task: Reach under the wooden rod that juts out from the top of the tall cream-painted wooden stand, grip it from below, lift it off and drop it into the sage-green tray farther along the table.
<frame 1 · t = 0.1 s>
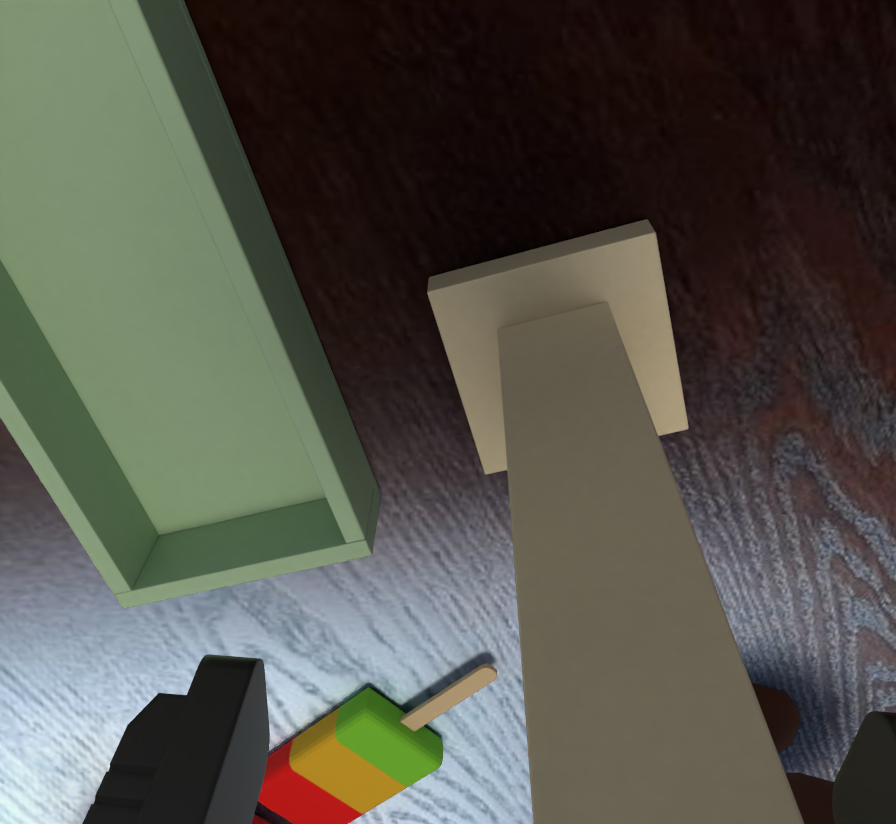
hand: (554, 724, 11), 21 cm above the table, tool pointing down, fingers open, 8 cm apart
stand: (559, 345, 32), on the table
ice cream bowl: (742, 719, 42), on the table
popsicle: (384, 723, 43), on the table
tray: (117, 220, 30), on the table
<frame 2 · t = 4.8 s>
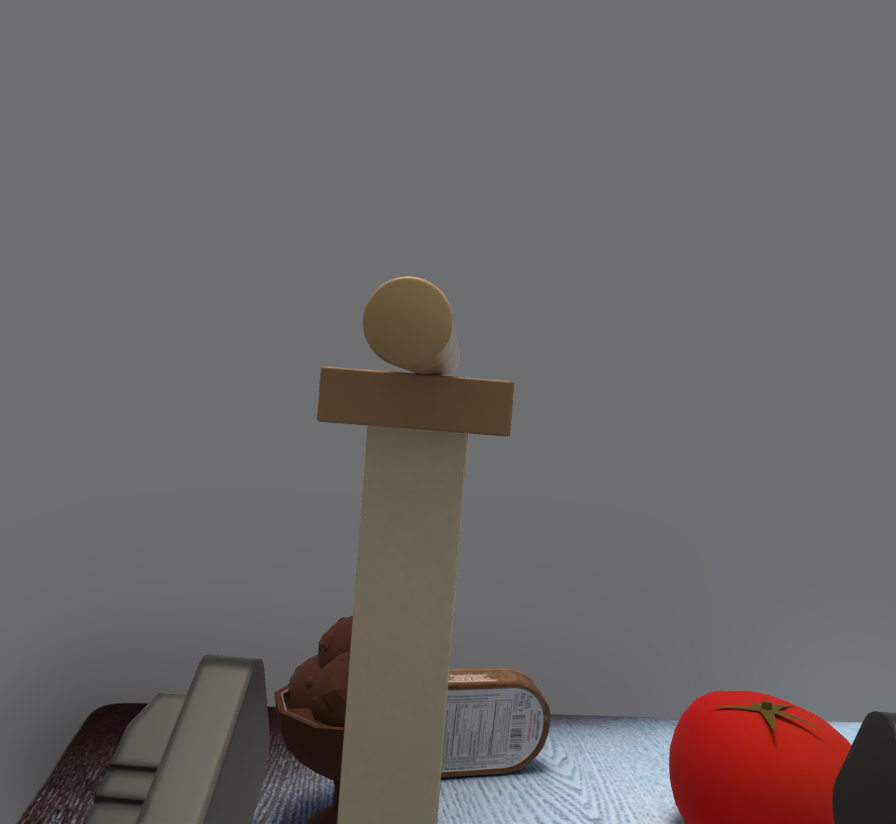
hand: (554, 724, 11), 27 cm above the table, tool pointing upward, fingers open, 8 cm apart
tin: (460, 774, 69), on the table
wooden rod: (420, 374, 32), point 32 cm above the table, tilted 6°, touching stand
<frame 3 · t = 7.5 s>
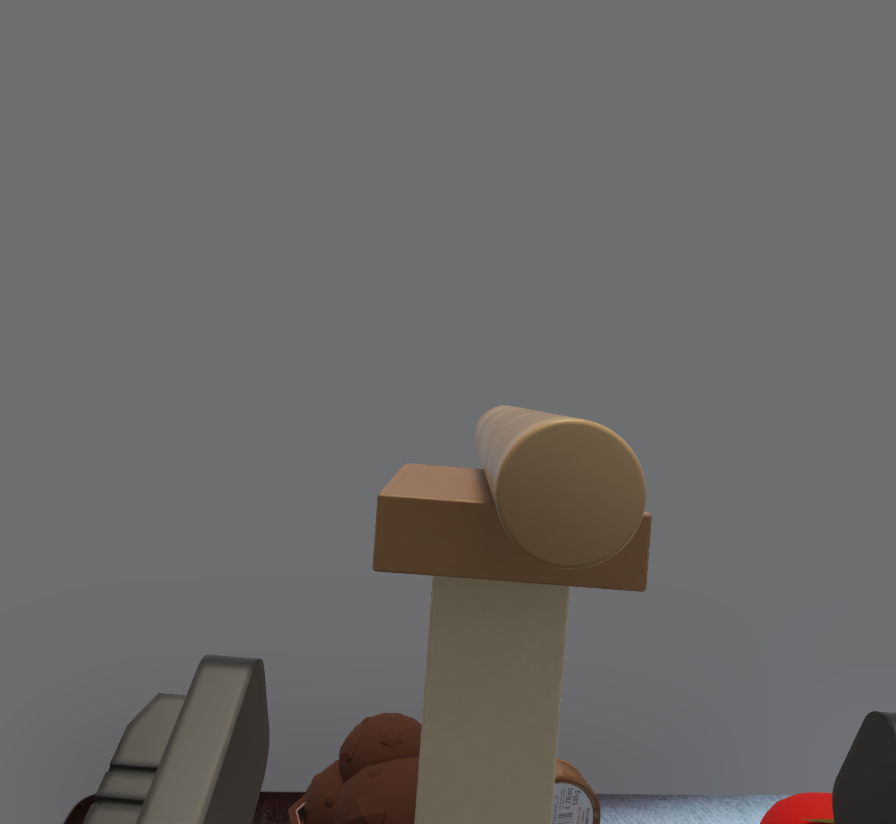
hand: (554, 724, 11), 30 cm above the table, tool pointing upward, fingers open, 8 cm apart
wooden rod: (510, 493, 23), point 32 cm above the table, tilted 14°, touching stand
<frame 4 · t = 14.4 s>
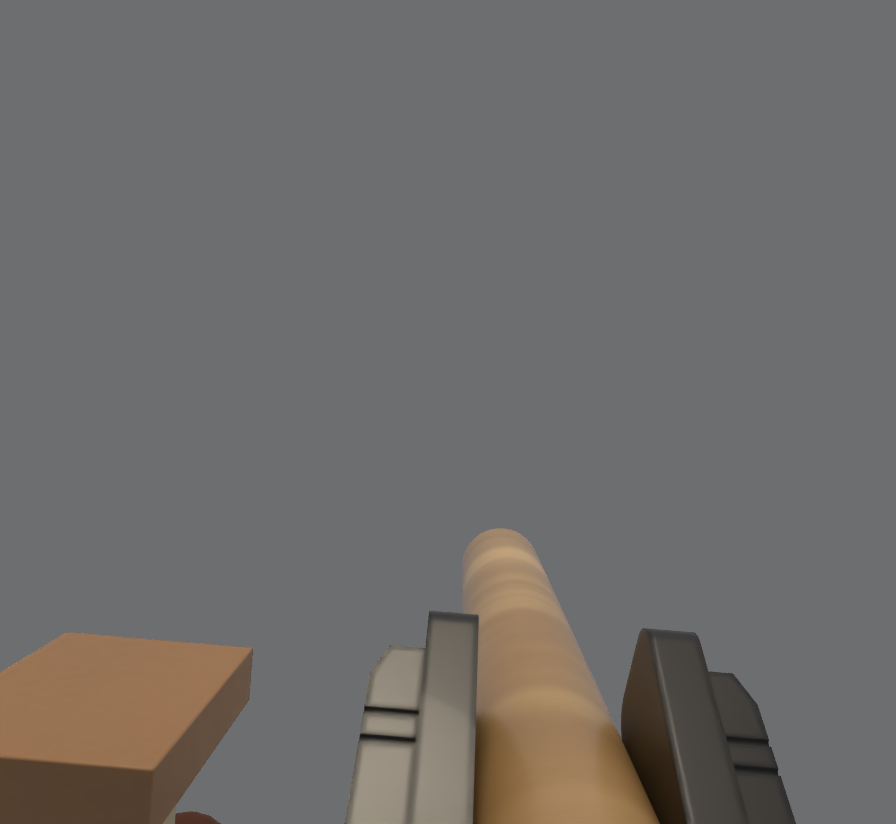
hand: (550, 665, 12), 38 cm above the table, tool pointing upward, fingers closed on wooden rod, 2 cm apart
wooden rod: (510, 726, 17), point 35 cm above the table, tilted 6°, touching gripper
when the fingers open (23 cm above the table, at t = 18.8 s): wooden rod drops 20 cm, resting on tray.
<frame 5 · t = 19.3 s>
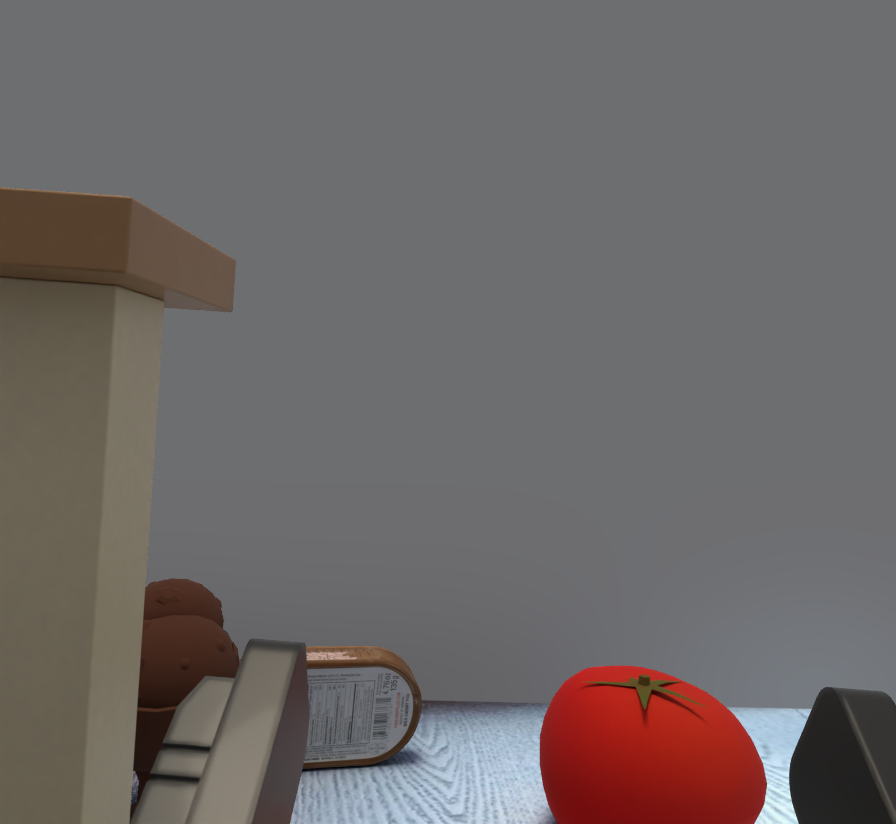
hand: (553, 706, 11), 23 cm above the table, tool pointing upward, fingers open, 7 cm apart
tin: (316, 766, 61), on the table
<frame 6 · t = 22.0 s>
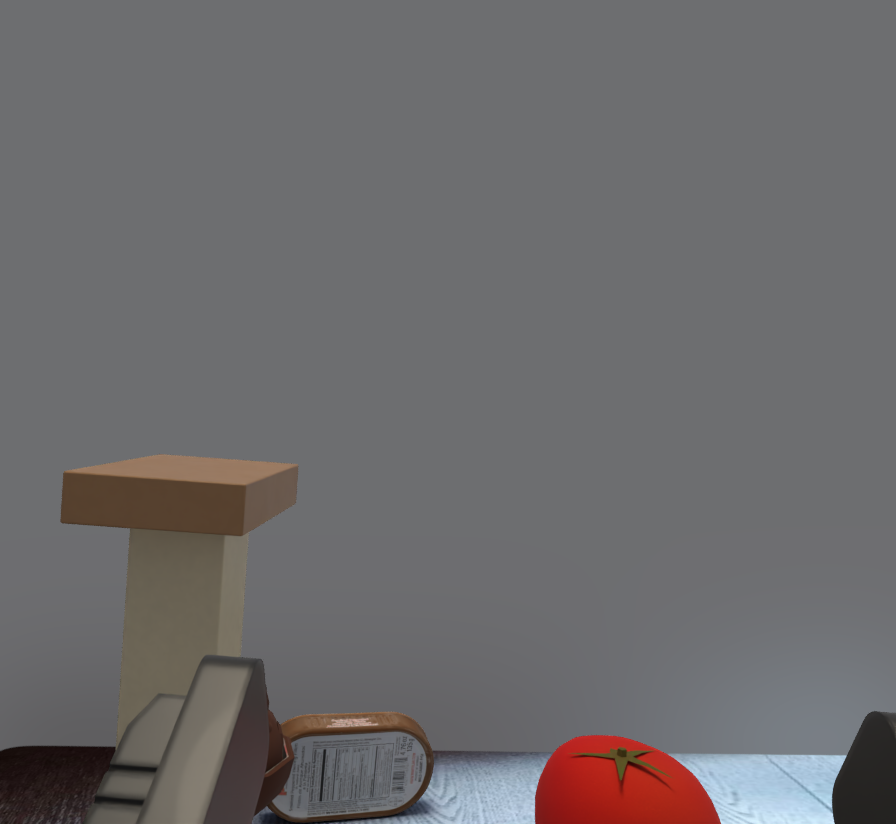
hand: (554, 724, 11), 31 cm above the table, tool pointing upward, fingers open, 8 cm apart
tin: (343, 817, 71), on the table
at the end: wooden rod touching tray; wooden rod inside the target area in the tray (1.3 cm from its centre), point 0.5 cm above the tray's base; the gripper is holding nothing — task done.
